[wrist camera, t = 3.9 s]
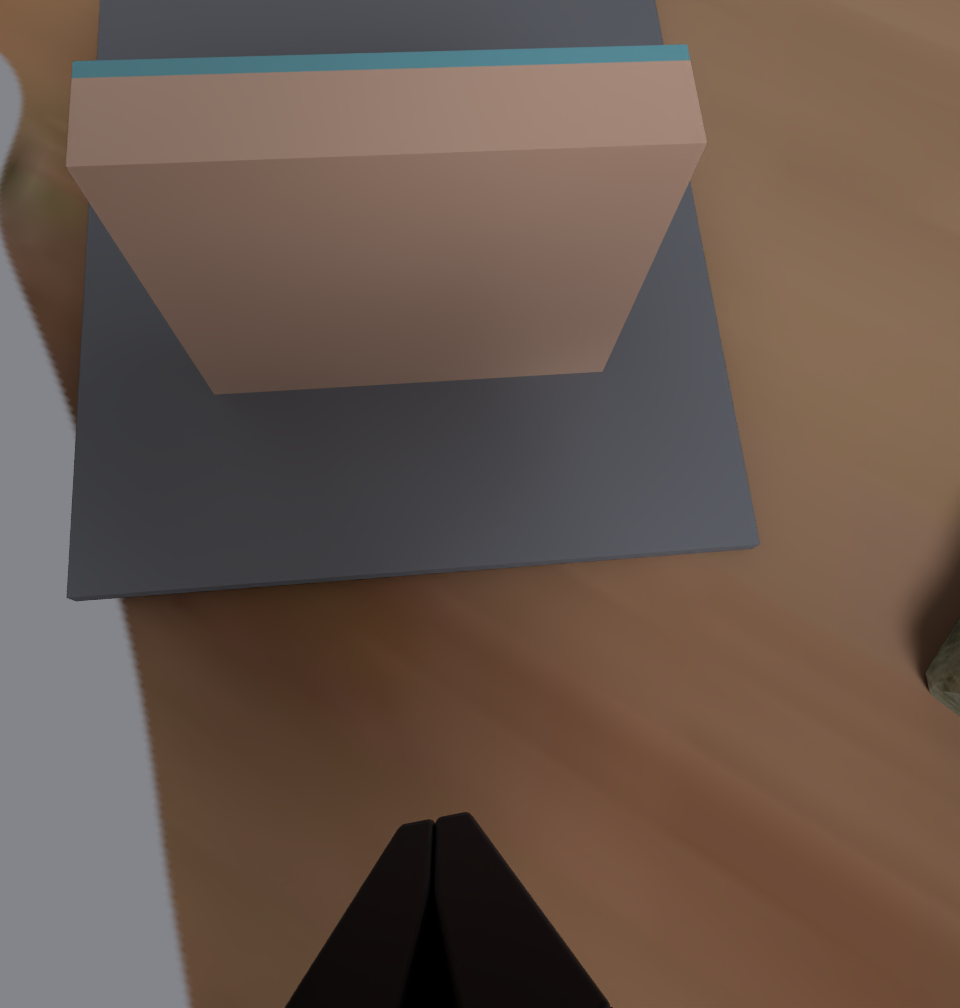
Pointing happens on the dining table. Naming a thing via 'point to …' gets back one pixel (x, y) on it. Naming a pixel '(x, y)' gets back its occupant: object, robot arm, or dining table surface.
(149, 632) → the dining table surface
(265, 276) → the tile
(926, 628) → the dining table surface
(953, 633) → the decorative tile
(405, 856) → the robot arm
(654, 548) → the mat
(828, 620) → the dining table surface
